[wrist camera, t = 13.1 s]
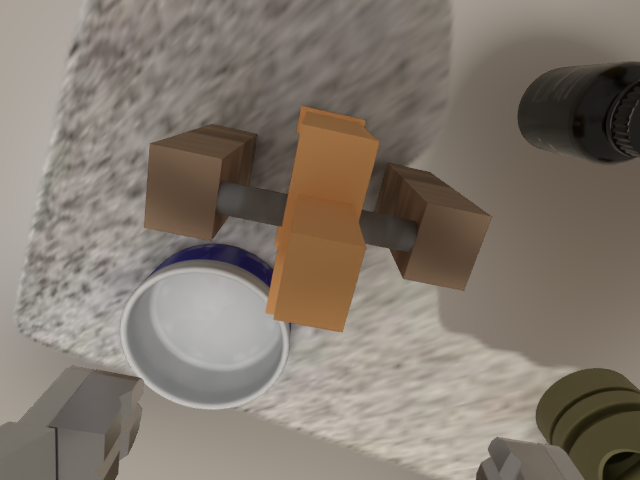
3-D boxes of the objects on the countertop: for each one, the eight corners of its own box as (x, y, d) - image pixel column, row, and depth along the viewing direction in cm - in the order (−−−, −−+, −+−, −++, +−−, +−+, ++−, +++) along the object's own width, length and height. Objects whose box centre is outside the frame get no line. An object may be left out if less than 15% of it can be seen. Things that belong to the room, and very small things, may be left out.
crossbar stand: (211, 124, 35) (149, 143, 22) (429, 172, 37) (492, 216, 24) (205, 179, 37) (143, 227, 24) (413, 222, 39) (464, 290, 26)
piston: (764, 499, 35) (657, 568, 38) (655, 400, 46) (580, 459, 49) (685, 440, 33) (577, 519, 36) (590, 351, 44) (515, 417, 47)
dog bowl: (240, 393, 46) (230, 435, 40) (118, 323, 42) (88, 358, 37) (322, 297, 42) (323, 329, 36) (193, 211, 38) (172, 232, 33)
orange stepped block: (301, 105, 31) (283, 128, 14) (364, 119, 31) (419, 159, 15) (275, 241, 35) (237, 385, 18) (331, 252, 35) (344, 404, 19)
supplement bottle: (518, 158, 37) (608, 188, 25) (510, 80, 34) (604, 76, 23) (596, 137, 36) (723, 158, 25) (592, 57, 34) (730, 40, 23)
